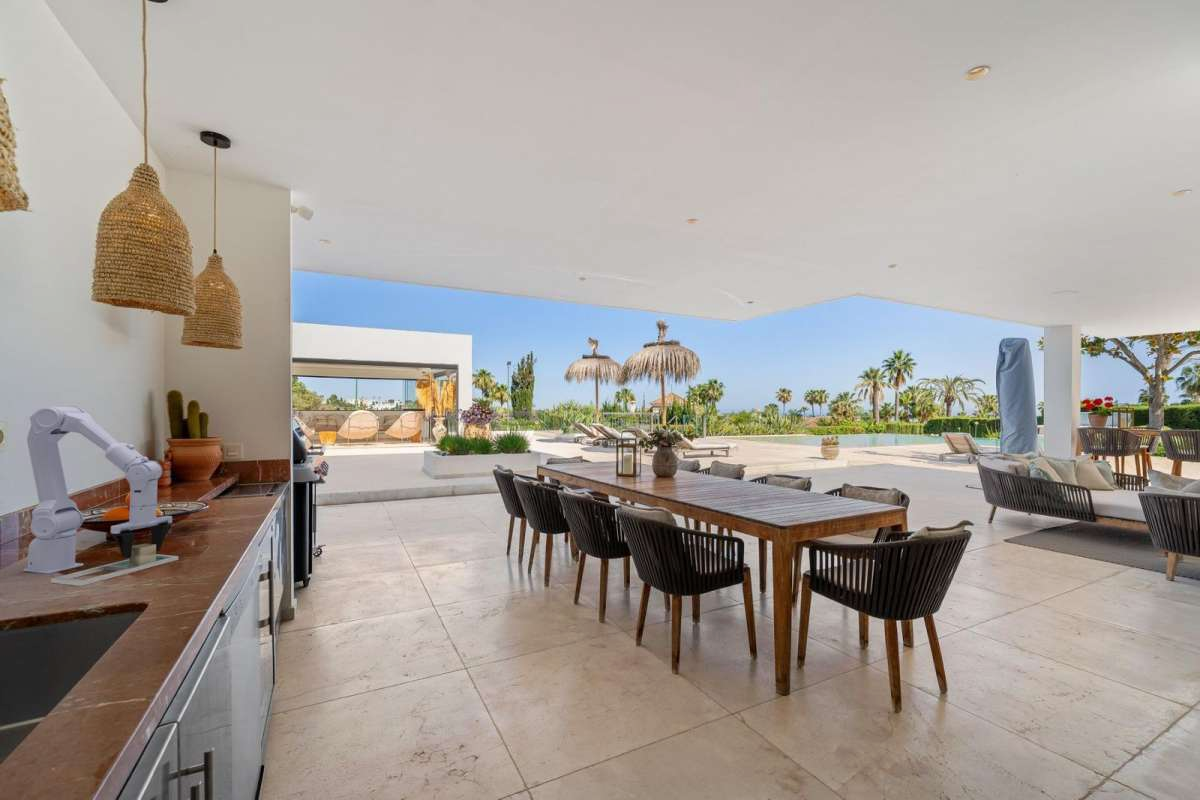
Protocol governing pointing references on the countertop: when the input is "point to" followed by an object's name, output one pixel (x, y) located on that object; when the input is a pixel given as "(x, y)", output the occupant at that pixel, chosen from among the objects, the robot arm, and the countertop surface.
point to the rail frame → (119, 567)
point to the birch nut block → (143, 554)
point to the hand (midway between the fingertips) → (141, 553)
